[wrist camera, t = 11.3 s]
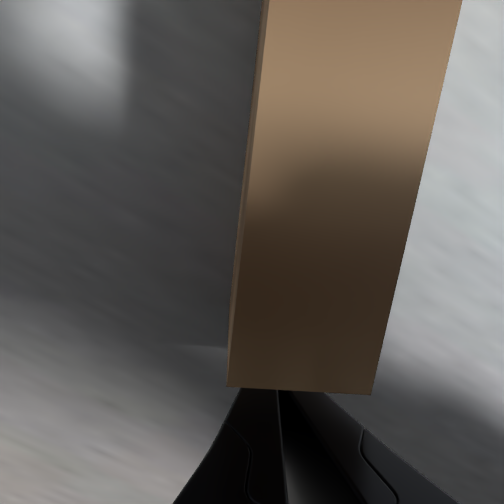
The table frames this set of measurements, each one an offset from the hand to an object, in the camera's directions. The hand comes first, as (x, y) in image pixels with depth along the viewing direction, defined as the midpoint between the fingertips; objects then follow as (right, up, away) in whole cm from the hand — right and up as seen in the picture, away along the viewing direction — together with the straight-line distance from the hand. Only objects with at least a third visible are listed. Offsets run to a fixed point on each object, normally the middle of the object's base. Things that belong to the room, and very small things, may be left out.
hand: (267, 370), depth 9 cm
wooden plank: (+1, +10, -1) cm, 11 cm away
